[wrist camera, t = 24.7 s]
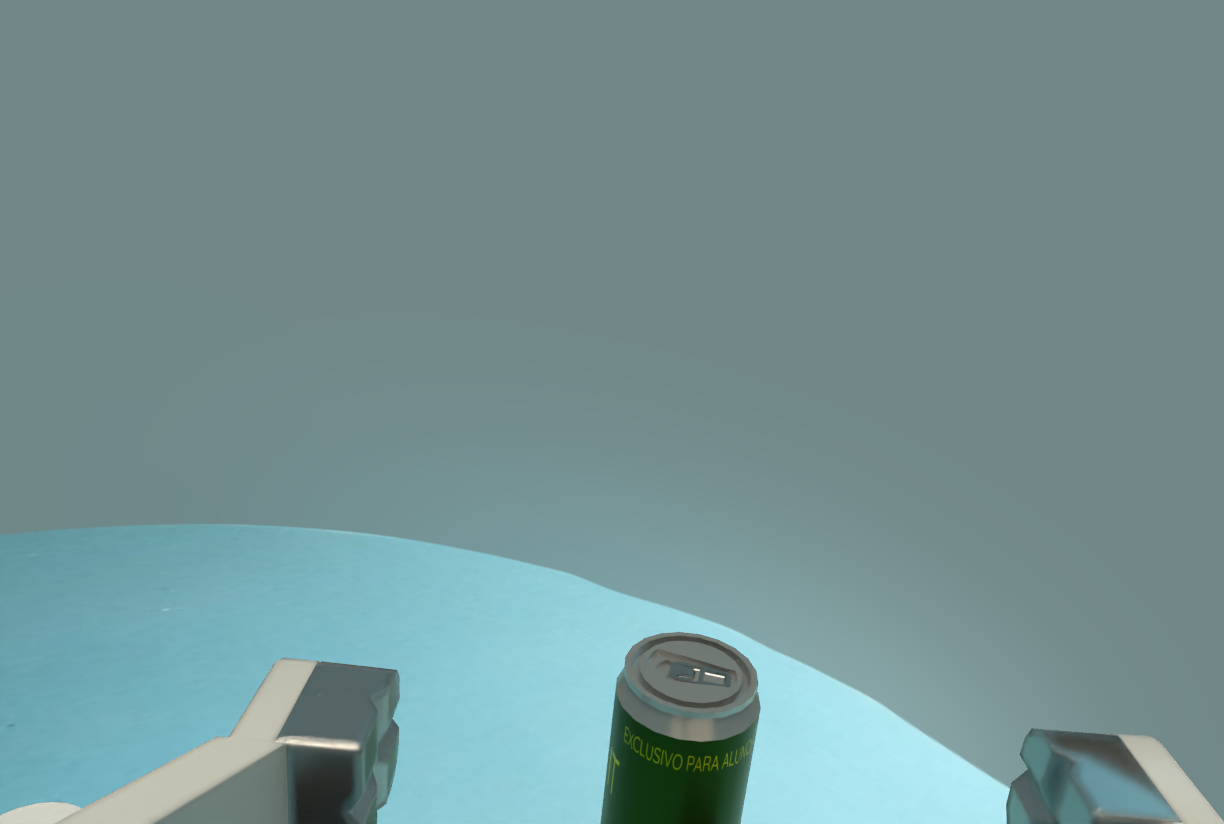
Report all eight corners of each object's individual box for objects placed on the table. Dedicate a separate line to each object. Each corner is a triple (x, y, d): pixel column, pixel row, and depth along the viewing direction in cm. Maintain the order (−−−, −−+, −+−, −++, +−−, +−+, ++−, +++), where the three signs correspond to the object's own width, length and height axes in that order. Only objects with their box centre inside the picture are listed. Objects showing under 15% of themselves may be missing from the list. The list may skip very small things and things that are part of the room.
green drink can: (727, 882, 41) (768, 644, 37) (713, 992, 36) (759, 731, 32) (605, 853, 42) (633, 618, 38) (575, 956, 37) (603, 698, 33)
